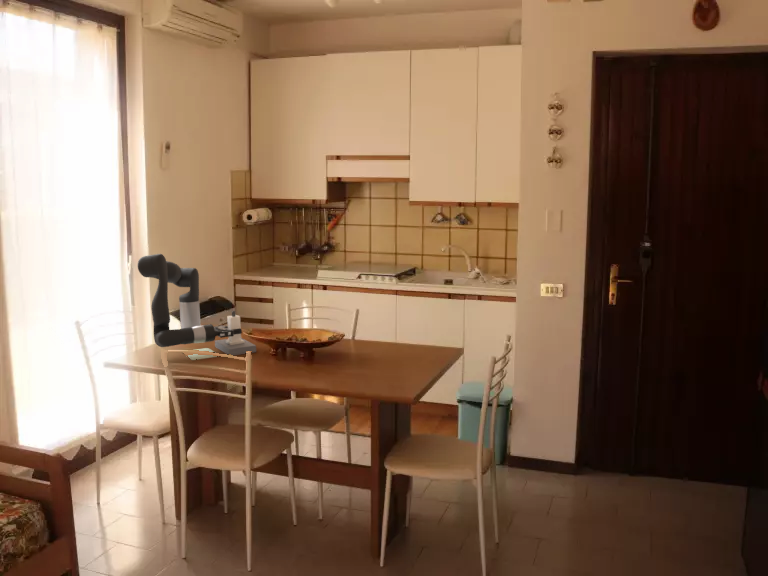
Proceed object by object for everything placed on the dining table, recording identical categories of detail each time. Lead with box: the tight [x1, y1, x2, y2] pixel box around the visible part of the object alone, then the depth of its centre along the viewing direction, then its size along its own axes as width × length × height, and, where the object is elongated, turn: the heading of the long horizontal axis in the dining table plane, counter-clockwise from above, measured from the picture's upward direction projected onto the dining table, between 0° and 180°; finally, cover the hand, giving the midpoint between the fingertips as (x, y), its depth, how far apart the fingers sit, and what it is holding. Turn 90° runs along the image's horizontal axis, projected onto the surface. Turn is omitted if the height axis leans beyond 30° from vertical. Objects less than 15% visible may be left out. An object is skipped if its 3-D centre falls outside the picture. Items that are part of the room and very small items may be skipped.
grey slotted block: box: [214, 337, 257, 356], centre depth 346 cm, size 20×12×4 cm, turn 30°
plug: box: [225, 310, 245, 345], centre depth 345 cm, size 7×7×18 cm
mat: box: [187, 347, 217, 361], centre depth 338 cm, size 16×12×1 cm
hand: (238, 329), depth 346 cm, fingers open, 8 cm apart
